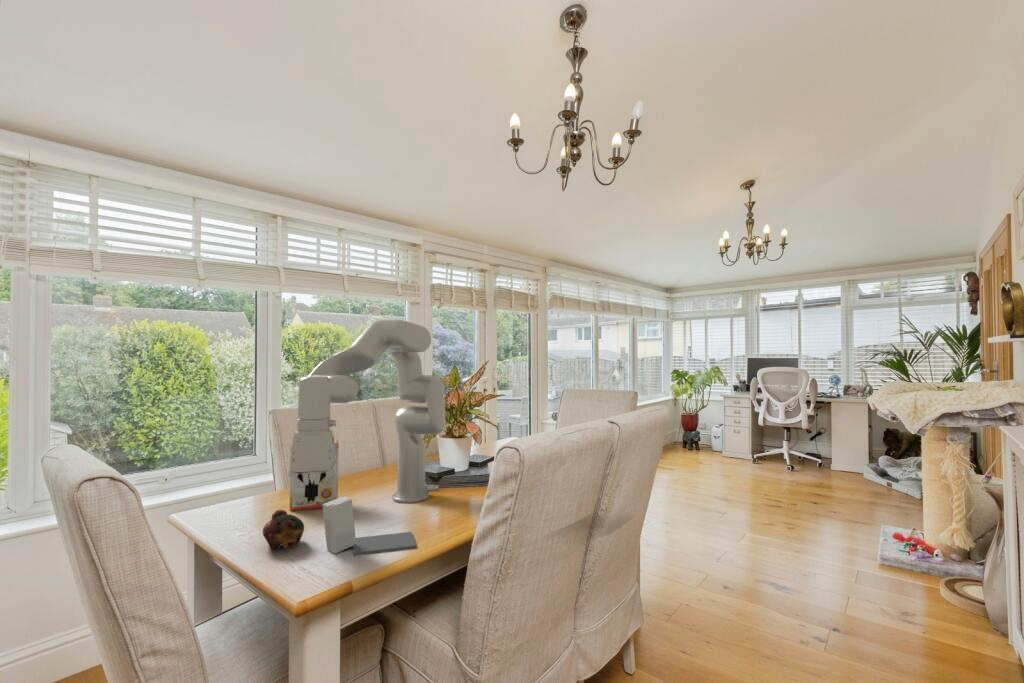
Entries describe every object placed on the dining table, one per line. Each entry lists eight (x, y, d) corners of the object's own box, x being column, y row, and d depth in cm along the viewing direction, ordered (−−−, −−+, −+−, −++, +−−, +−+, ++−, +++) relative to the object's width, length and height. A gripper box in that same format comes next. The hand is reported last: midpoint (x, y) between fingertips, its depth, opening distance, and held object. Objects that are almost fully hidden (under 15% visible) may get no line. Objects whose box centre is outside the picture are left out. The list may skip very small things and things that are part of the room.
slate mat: (411, 533, 130) (411, 531, 130) (415, 547, 121) (415, 545, 121) (353, 540, 125) (353, 538, 125) (353, 555, 116) (353, 552, 116)
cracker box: (338, 502, 158) (339, 439, 159) (335, 507, 152) (337, 442, 153) (292, 505, 155) (294, 440, 156) (288, 511, 149) (290, 444, 150)
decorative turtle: (292, 533, 130) (295, 504, 131) (312, 553, 119) (315, 521, 119) (253, 540, 124) (256, 509, 124) (270, 563, 113) (274, 529, 113)
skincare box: (347, 540, 124) (343, 495, 123) (357, 544, 121) (353, 498, 120) (325, 550, 119) (321, 503, 118) (335, 555, 116) (330, 507, 115)
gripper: (345, 423, 124) (343, 493, 123) (282, 424, 120) (280, 498, 119) (345, 426, 117) (342, 501, 116) (278, 428, 112) (275, 506, 112)
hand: (311, 499), depth 117 cm, fingers closed
